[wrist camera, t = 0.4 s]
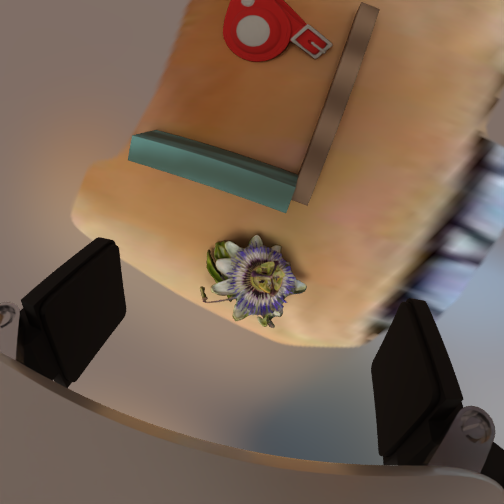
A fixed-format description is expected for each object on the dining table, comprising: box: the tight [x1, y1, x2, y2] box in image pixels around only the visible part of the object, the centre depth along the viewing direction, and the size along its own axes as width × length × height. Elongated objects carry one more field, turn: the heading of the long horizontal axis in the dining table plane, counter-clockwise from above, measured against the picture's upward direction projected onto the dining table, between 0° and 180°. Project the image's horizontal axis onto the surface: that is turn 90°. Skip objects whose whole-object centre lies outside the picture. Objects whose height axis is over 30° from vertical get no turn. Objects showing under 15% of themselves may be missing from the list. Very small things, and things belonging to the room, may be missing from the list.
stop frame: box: [128, 2, 380, 213], centre depth 29 cm, size 25×21×6 cm
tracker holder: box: [223, 0, 333, 62], centre depth 27 cm, size 12×4×10 cm
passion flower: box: [200, 235, 307, 328], centre depth 40 cm, size 11×11×12 cm
